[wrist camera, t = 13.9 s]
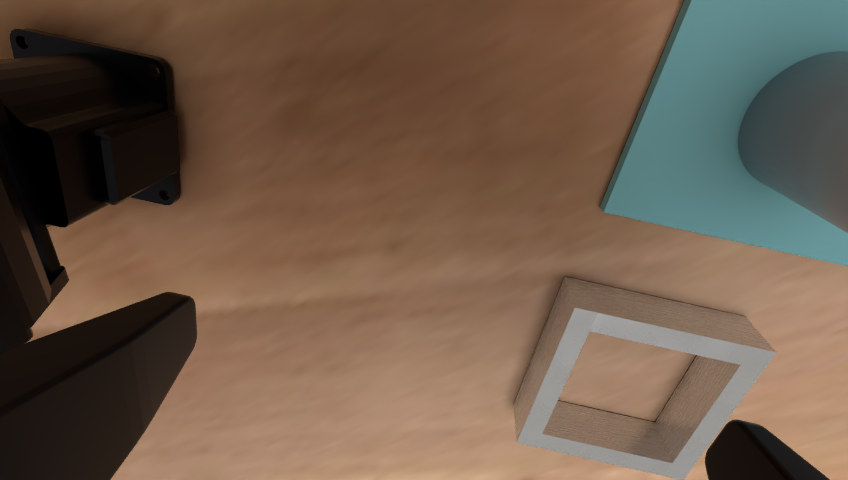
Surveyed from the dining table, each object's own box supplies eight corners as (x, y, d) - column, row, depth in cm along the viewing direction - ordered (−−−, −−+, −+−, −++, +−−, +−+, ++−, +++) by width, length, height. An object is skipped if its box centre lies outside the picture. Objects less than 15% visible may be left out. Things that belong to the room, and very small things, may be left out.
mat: (600, 206, 19) (603, 212, 19) (712, -68, 15) (720, -71, 14) (875, 267, 19) (886, 274, 19) (1074, 9, 15) (1097, 9, 14)
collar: (513, 404, 25) (516, 442, 23) (564, 276, 21) (574, 307, 19) (665, 438, 25) (683, 480, 23) (745, 316, 21) (776, 352, 19)
